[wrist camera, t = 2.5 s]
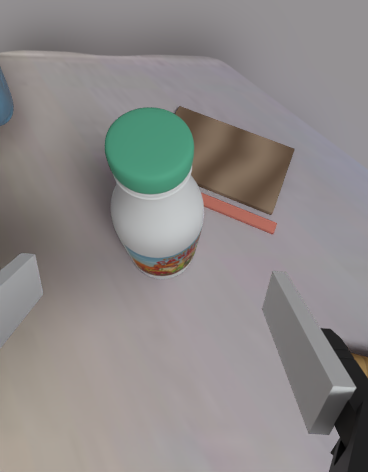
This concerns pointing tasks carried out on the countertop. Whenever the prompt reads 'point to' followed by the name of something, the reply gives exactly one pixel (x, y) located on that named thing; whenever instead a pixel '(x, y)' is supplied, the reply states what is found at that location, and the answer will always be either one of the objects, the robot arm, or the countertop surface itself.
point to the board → (236, 161)
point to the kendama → (362, 362)
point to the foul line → (239, 214)
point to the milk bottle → (154, 190)
